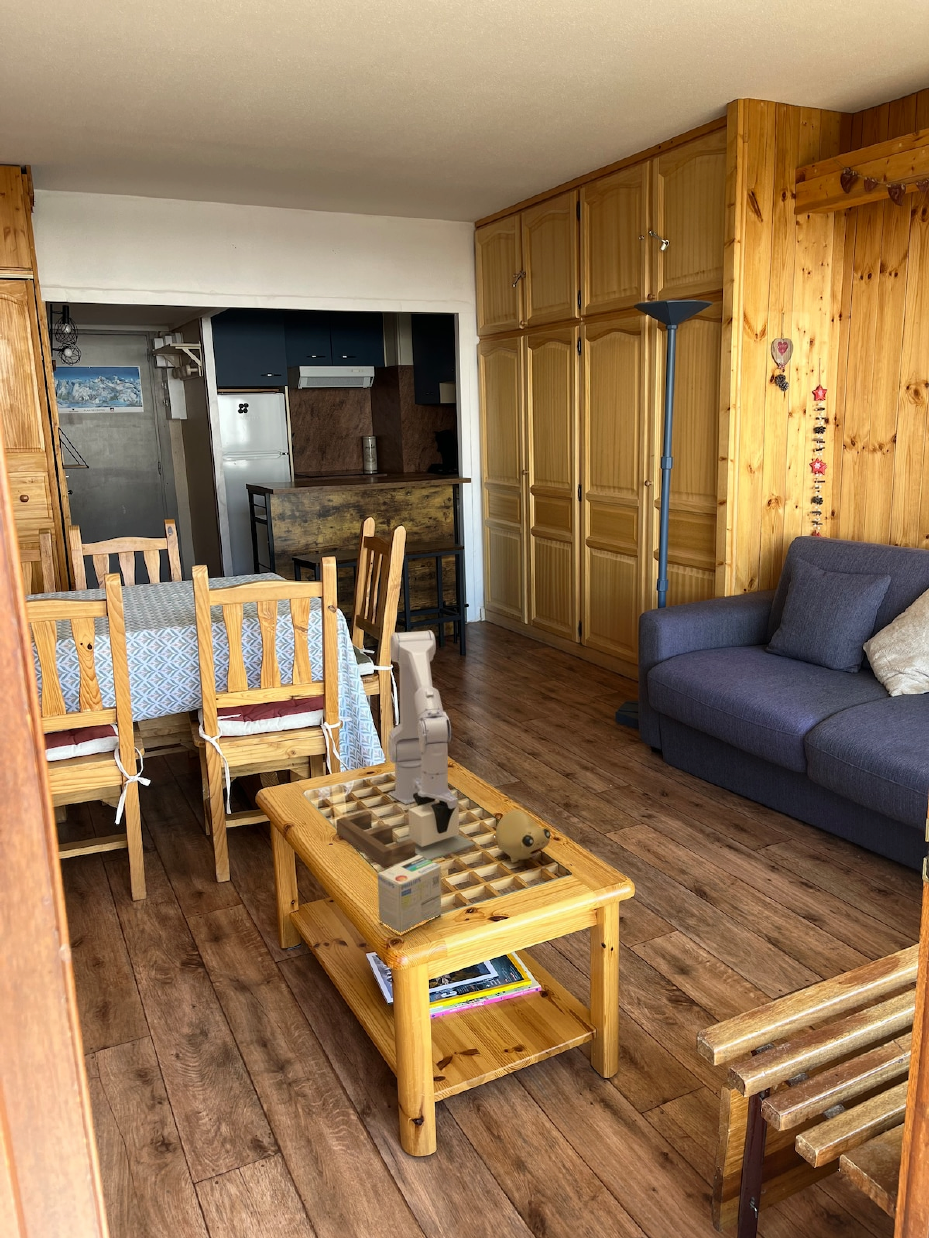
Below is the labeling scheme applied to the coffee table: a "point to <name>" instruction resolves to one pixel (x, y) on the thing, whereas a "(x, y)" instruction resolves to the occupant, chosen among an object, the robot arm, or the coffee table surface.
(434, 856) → the grey mat
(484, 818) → the coffee table surface
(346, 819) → the walnut rack
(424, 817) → the off-white block
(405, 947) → the coffee table surface
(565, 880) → the coffee table surface
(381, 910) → the light bulb box
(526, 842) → the tan toy animal
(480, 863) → the coffee table surface
